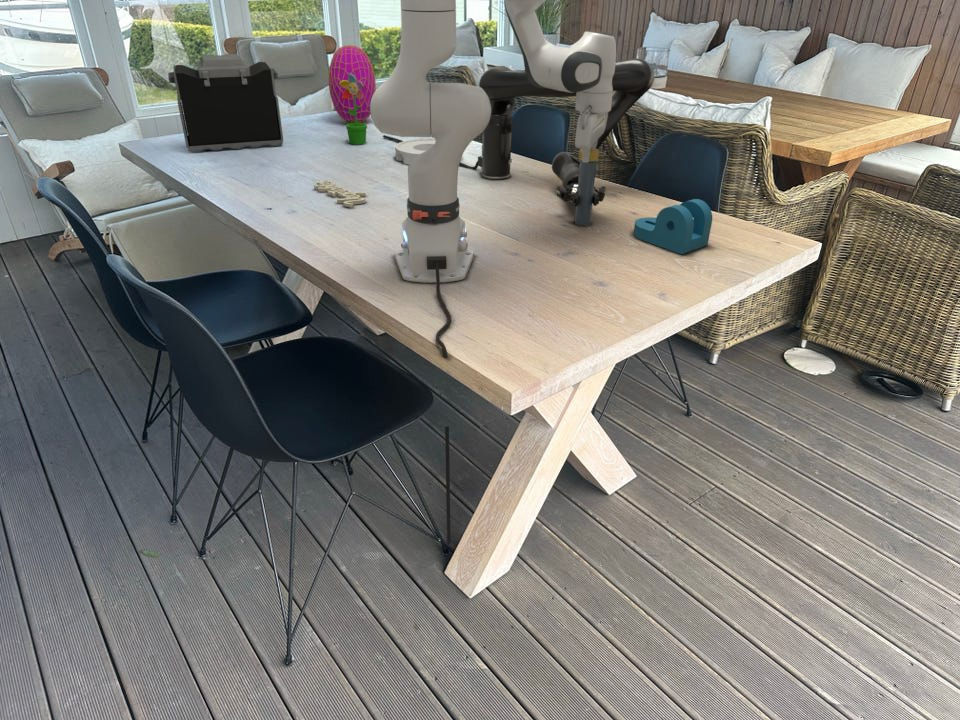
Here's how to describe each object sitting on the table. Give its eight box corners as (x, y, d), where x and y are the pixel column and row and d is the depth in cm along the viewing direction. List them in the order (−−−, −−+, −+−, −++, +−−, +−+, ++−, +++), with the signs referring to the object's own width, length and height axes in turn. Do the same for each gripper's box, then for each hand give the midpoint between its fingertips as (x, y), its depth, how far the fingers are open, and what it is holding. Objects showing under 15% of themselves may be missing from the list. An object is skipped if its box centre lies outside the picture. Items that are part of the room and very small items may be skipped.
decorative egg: (362, 116, 305) (357, 42, 290) (386, 123, 292) (382, 46, 277) (324, 121, 294) (316, 45, 279) (347, 129, 281) (340, 49, 266)
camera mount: (707, 244, 172) (715, 204, 167) (681, 254, 167) (689, 212, 161) (650, 225, 184) (656, 186, 179) (624, 233, 179) (629, 194, 173)
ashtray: (454, 167, 232) (454, 155, 230) (388, 164, 235) (387, 152, 233) (466, 151, 252) (466, 140, 250) (404, 148, 255) (404, 137, 253)
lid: (584, 155, 180) (584, 146, 179) (601, 158, 178) (602, 149, 177) (575, 159, 177) (575, 150, 176) (592, 162, 174) (593, 153, 173)
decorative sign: (378, 198, 199) (347, 205, 194) (378, 202, 199) (348, 208, 194) (336, 178, 217) (306, 183, 211) (336, 181, 217) (307, 186, 212)
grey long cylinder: (592, 225, 185) (599, 154, 175) (577, 226, 184) (583, 155, 174) (587, 220, 188) (594, 150, 179) (572, 220, 188) (578, 151, 178)
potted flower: (342, 144, 260) (336, 73, 247) (351, 139, 266) (346, 70, 254) (365, 146, 257) (360, 74, 245) (374, 141, 264) (369, 71, 251)
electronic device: (280, 133, 274) (270, 51, 259) (288, 146, 256) (277, 59, 241) (182, 140, 262) (165, 54, 247) (183, 153, 245) (164, 62, 229)
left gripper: (597, 111, 161) (592, 170, 168) (613, 97, 178) (608, 151, 185) (571, 109, 163) (566, 167, 170) (589, 95, 179) (584, 149, 186)
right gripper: (552, 170, 193) (560, 188, 178) (603, 170, 193) (615, 188, 179) (551, 196, 197) (558, 215, 182) (600, 196, 197) (612, 216, 182)
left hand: (588, 158), depth 177 cm, fingers closed on lid, 5 cm apart
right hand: (586, 202), depth 180 cm, fingers closed on grey long cylinder, 4 cm apart
